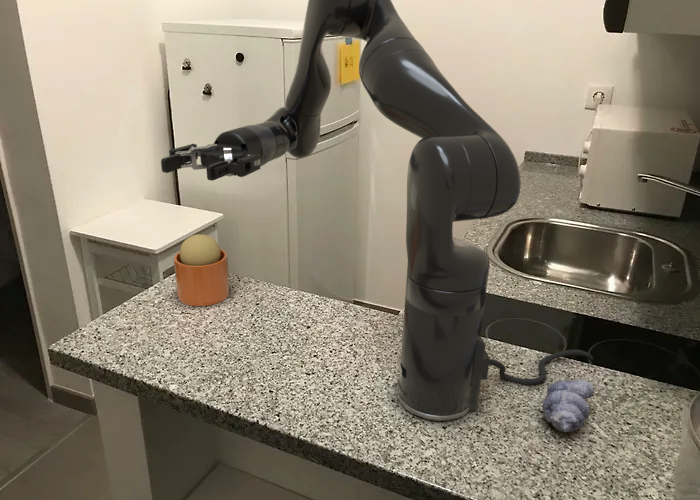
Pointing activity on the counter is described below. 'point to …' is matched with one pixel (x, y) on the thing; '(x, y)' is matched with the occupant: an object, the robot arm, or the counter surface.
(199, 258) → the light bulb
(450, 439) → the counter surface
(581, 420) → the seashell
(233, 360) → the counter surface
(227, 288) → the flower pot
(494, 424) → the counter surface
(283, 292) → the counter surface
